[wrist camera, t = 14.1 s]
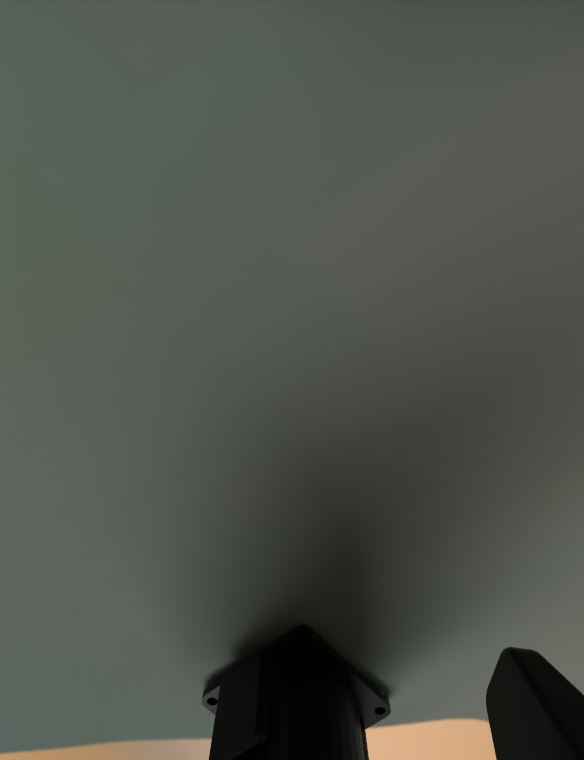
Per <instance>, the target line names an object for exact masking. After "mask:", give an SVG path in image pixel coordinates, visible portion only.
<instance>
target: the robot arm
mask: <svg viewBox="0 0 584 760" xmlns="http://www.w3.org/2000/svg"><path fill="white" fill-rule="evenodd" d="M301 637H302V638H305V639H300V638H301ZM202 704H203V705H204V706H205V707H206V708H207V709H208V710H210V711H211V712H212V713H213V714H215V715H216V716H215V722H214V729H213V736H212V742H211V749H210V755H209V760H369V757H368V750H367V741H366V732H365V729H367V728H368V727H370V726H372V725H374V724H375V723H377V722H379V721H380V720H382V719H384V718H385V717H387V716H388V715H389V714H390V712H391V710H390V704H389V700H388V699H387V697H385V696H384V695H383V694H382V693H381V692H380V691H379V690H378V689H377V688H376V687H374V686H373V685H372V684H371V683H370V682H369V681H368V680H367V679H366V678H364V677H363V676H362V675H361V674H360V673H359V672H358V671H357V670H356V669H355V668H353V667H352V666H351V665H350V664H349V663H348V662H347V661H346V660H345V659H344V658H342V657H341V656H340V655H339V654H338V653H337V652H336V651H335V650H334V649H332V648H331V647H330V646H329V645H328V644H327V643H326V642H325V641H324V640H323V639H321V638H320V637H319V636H318V635H317V634H316V633H315V632H314V631H313V630H312V629H310V628H309V627H306V626H299V627H296V628H294V629H293V630H291V631H290V632H288V633H287V634H285V635H284V636H282V637H281V638H280V639H278V640H277V641H275V642H274V643H272V644H271V645H269V646H268V647H266V648H265V649H263V650H262V651H260V652H258V653H257V654H255V655H254V656H252V657H251V658H249V659H248V660H246V661H245V662H243V663H242V664H240V665H239V666H237V667H236V668H234V669H233V670H231V671H230V672H228V673H227V674H225V675H224V676H223V677H221V678H220V679H218V680H217V681H215V682H214V683H212V684H211V685H209V686H208V687H207V688H205V689H204V691H203V696H202ZM486 707H487V713H488V718H489V723H490V728H491V733H492V738H493V743H494V749H495V753H496V759H497V760H584V695H583V694H582V693H581V692H580V691H579V690H578V689H577V688H576V687H575V686H574V685H572V684H571V683H570V682H569V681H568V680H567V679H566V678H565V677H564V676H563V675H562V674H561V673H560V672H559V671H558V670H557V669H556V668H554V667H553V666H552V665H551V664H550V663H549V662H548V661H547V660H546V659H545V658H544V657H543V656H542V655H540V654H539V653H538V652H536V651H534V650H530V649H522V648H514V647H508V648H505V649H504V650H503V651H502V653H501V655H500V657H499V660H498V662H497V665H496V667H495V670H494V673H493V675H492V678H491V680H490V683H489V686H488V689H487V694H486Z"/></svg>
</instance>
